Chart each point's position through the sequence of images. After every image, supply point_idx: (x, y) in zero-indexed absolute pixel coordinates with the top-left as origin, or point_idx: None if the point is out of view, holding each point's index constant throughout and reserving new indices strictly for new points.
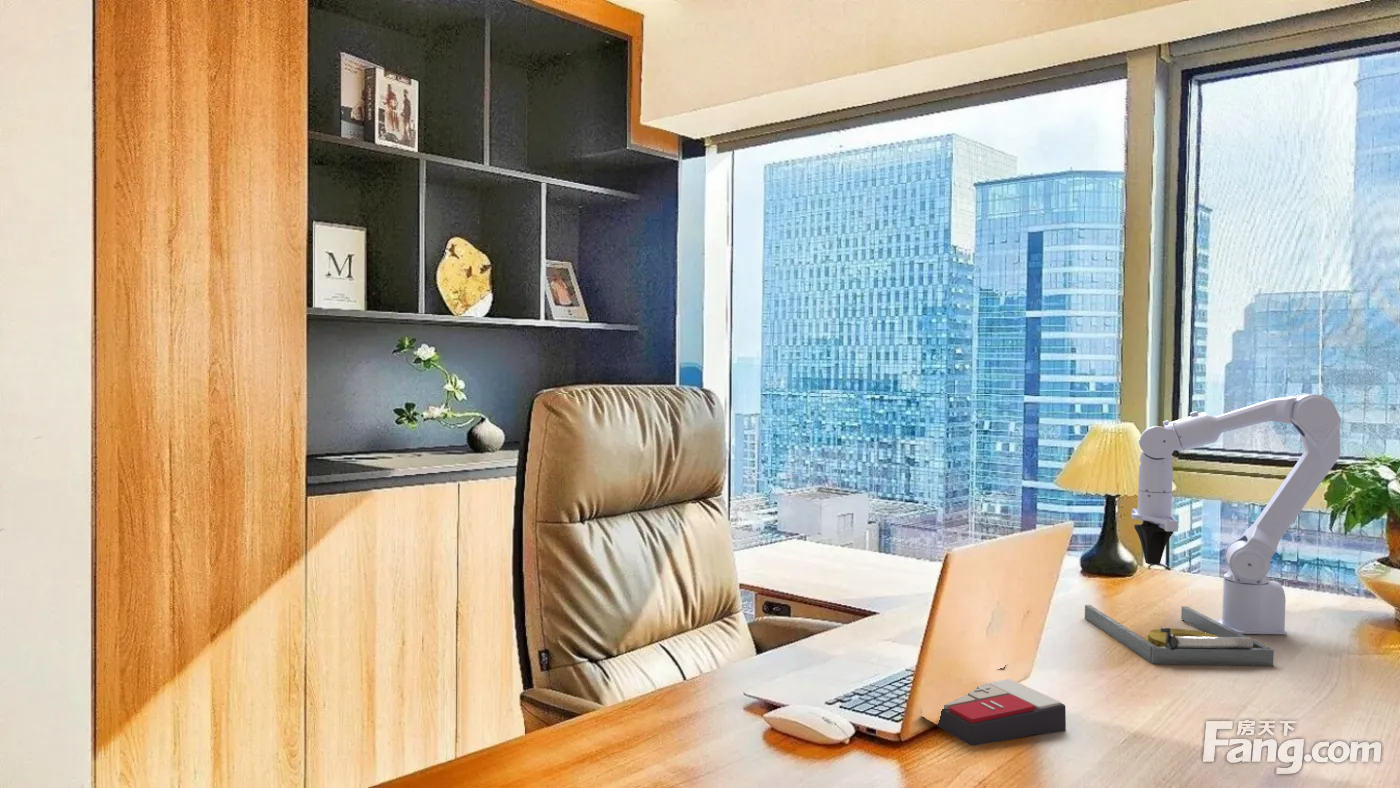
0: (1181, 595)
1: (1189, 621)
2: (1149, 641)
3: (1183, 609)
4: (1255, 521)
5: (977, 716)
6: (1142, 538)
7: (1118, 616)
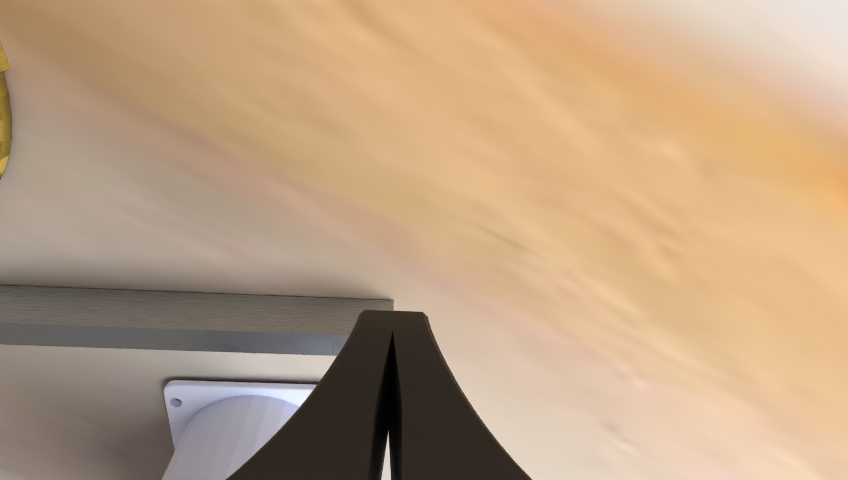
0: (775, 473)
1: (319, 304)
2: None
3: None
4: None
5: None
6: (407, 463)
7: (462, 28)
